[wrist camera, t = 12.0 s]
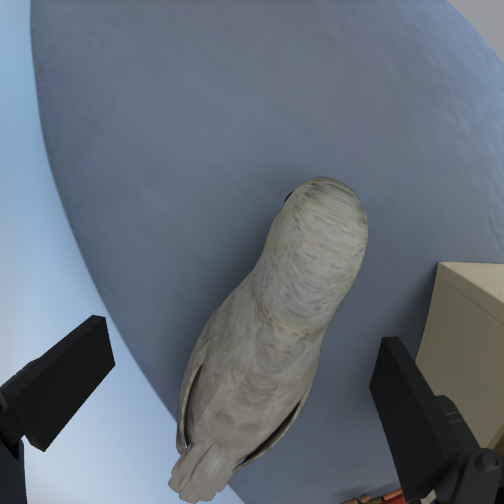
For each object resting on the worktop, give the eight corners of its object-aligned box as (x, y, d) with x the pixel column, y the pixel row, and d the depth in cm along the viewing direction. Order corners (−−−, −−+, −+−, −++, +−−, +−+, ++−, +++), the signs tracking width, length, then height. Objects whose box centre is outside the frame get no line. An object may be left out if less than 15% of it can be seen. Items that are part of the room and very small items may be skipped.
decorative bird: (377, 206, 14) (456, 232, 6) (251, 427, 18) (235, 516, 11) (277, 158, 14) (269, 134, 6) (177, 398, 18) (136, 481, 11)
